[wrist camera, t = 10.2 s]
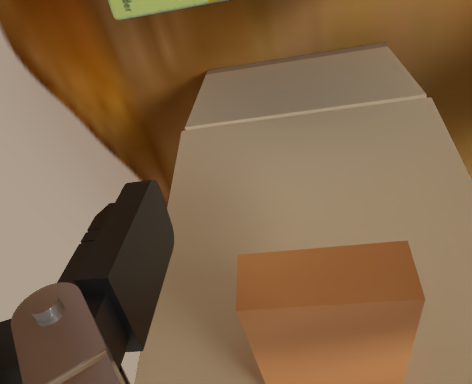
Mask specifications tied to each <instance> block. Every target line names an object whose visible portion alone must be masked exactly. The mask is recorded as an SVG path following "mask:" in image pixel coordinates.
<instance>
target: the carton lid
mask: <svg viewBox="0 0 472 384" xmlns="http://www.w3.org/2000/svg"><path fill="white" fill-rule="evenodd" d="M167 211H168V214H169V217H170V220H171V223H172V226H173V231H174V248H173V252H172V255H171V258H170V262H169V265H168V268H167V272H166V275H165V279H164V282H163V285H162V289H161V292H160V296H159V299H158V302H157V306H156V309H155V313H154V316H153V319H152V323H151V326H150V330H149V333H148V336H147V340H146V343H145V346H144V350H143V351H140V356H139V362H138V367H137V373H136V378H135V383H134V384H472V179H471V177H470V175H469V173H468V171H467V169H466V167H465V165H464V163H463V161H462V159H461V157H460V155H459V153H458V151H457V149H456V147H455V144H454V142H453V140H452V138H451V136H450V134H449V132H448V130H447V128H446V126H445V124H444V122H443V120H442V118H441V116H440V114H439V112H438V110H437V108H436V106H435V104H434V101H433V99H432V97H429V98H422V99H414V100H407V101H400V102H392V103H385V104H377V105H370V106H363V107H355V108H348V109H341V110H333V111H326V112H318V113H311V114H304V115H296V116H289V117H282V118H274V119H267V120H259V121H252V122H245V123H237V124H230V125H223V126H215V127H208V128H201V129H193V130H186V131H182V132H181V137H180V142H179V148H178V153H177V158H176V164H175V169H174V174H173V180H172V185H171V190H170V196H169V201H168V207H167Z"/></svg>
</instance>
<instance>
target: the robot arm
mask: <svg viewBox="0 0 472 384" xmlns="http://www.w3.org/2000/svg"><path fill="white" fill-rule="evenodd" d="M173 248H174V231H173V226H172V223H171V220H170V217H169V214H168V211H167V208H166V205H165V202H164V199H163V196H162V193H161V190H160V187H159V185H158V183H157V182H156V181H155V180H149V181H141V182H132V183H127V184H125V186H124V187H123V189H122V191H121V193H120V195H119V197H118V199H117V200H116V202H115V203H110V204H109V205H107V206H106V207H105V208H104V209H103V210H102V211H101V212H100V213H98V214H97V215H96V216H95V218H94V220H93V221H92V223H91V225H90V227H89V228H88V233H86V234H85V235H84V237H83V239H82V240H81V244H79V246H78V247H77V249H76V251H75V253H74V254H73V256H72V258H71V259H70V261H69V263H68V265H67V267H66V268H65V270H64V272H63V273H62V275H61V277H60V279H59V280H58V282H57V283H55V284H51V285H48V286H46V287H43V288H41V289H39V290H37V291H36V292H34V293H32V294H31V295H30V296H29V297H27V298H26V299H25V300H24V301H23V302H22V303H21V304H20V305H19V306H18V307H17V309H16V310H15V312H14V314H13V316H12V319H9V320H6V321H3V322H0V384H130V382H129V380H128V378H127V376H126V374H125V371H124V370H123V368H122V366H121V363H122V360H123V357H124V354H125V352H135V351H143V350H144V346H145V343H146V340H147V336H148V333H149V330H150V326H151V323H152V319H153V316H154V313H155V309H156V306H157V302H158V299H159V296H160V292H161V289H162V285H163V282H164V279H165V275H166V272H167V268H168V265H169V262H170V258H171V255H172V252H173Z"/></svg>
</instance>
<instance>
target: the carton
mask: <svg viewBox="0 0 472 384" xmlns="http://www.w3.org/2000/svg"><path fill="white" fill-rule="evenodd" d="M422 98H426V93H425V92H424V91H423V89H422V88H421V87H420V86H419V84H418V83H417V82H416V81H415V79H414V78H413V77H412V76H411V74H410V73H409V72H408V71H407V69H406V68H405V67H404V66H403V65H402V63H401V62H400V61H399V60H398V58H397V57H396V56H395V55H394V53H393V52H392V51H391V50H390V48H389V47H388V46H387V45H386V43H385V42H384V43H378V44H371V45H365V46H359V47H352V48H346V49H340V50H333V51H327V52H321V53H314V54H308V55H302V56H295V57H289V58H283V59H276V60H270V61H264V62H257V63H251V64H245V65H238V66H232V67H226V68H219V69H213V70H208V71H207V73H206V76H205V78H204V81H203V83H202V86H201V88H200V91H199V93H198V96H197V98H196V101H195V103H194V106H193V108H192V111H191V113H190V116H189V118H188V121H187V123H186V126H185V130H193V129H201V128H208V127H215V126H223V125H230V124H237V123H245V122H252V121H259V120H267V119H274V118H282V117H289V116H296V115H304V114H311V113H318V112H326V111H333V110H341V109H348V108H355V107H363V106H370V105H377V104H385V103H392V102H400V101H407V100H414V99H422Z"/></svg>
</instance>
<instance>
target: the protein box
mask: <svg viewBox="0 0 472 384" xmlns="http://www.w3.org/2000/svg"><path fill="white" fill-rule="evenodd" d="M225 1H230V0H108V3H109V6H110V9H111V12H112V14H113V17H114V18H115V19H116V20H126V19H132V18H137V17H142V16H148V15H153V14H159V13H164V12H170V11H175V10H180V9H186V8H191V7H197V6H202V5H208V4H214V3H219V2H225Z"/></svg>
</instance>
